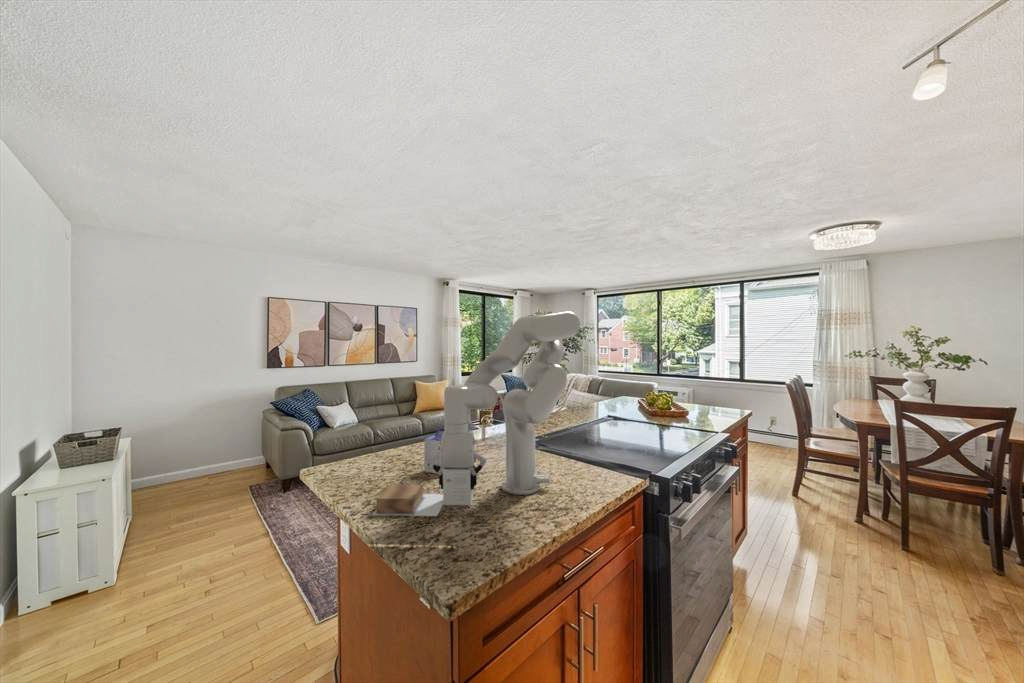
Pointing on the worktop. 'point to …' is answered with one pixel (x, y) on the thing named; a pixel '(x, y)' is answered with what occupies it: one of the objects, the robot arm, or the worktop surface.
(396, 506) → the base slab
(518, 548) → the worktop surface
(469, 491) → the small box
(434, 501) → the white rectangular board
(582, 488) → the worktop surface
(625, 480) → the worktop surface
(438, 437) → the ink cartridge box
